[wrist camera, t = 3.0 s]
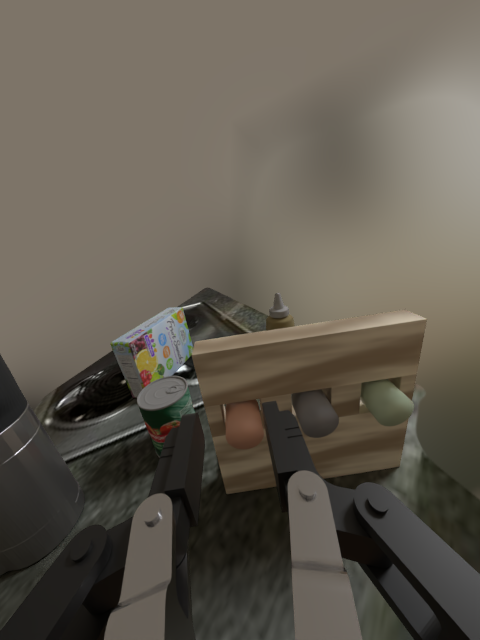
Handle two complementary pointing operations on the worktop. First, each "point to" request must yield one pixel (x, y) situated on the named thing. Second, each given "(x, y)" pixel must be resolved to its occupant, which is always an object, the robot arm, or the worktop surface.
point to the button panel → (306, 375)
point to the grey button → (314, 413)
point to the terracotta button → (243, 424)
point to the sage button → (386, 402)
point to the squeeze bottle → (279, 315)
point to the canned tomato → (164, 407)
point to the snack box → (153, 349)
